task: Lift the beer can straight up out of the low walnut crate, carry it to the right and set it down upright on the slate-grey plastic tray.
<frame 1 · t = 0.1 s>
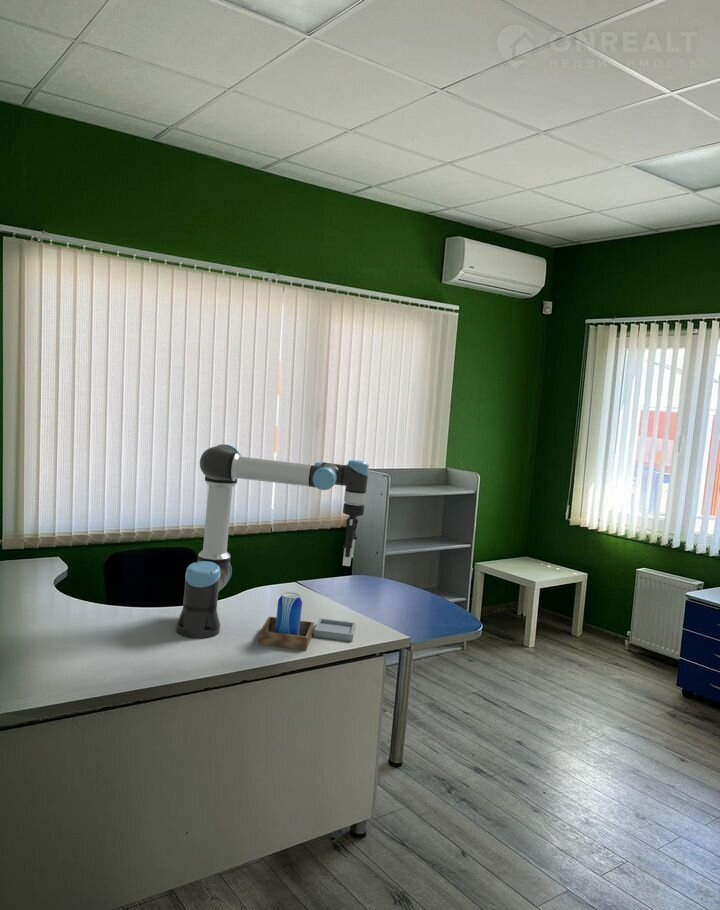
hand: (347, 561, 260), 28 cm above the table, fingers open, 13 cm apart
beer can: (286, 639, 254), resting in crate
tray: (334, 632, 266), on the table
crate: (286, 639, 254), on the table
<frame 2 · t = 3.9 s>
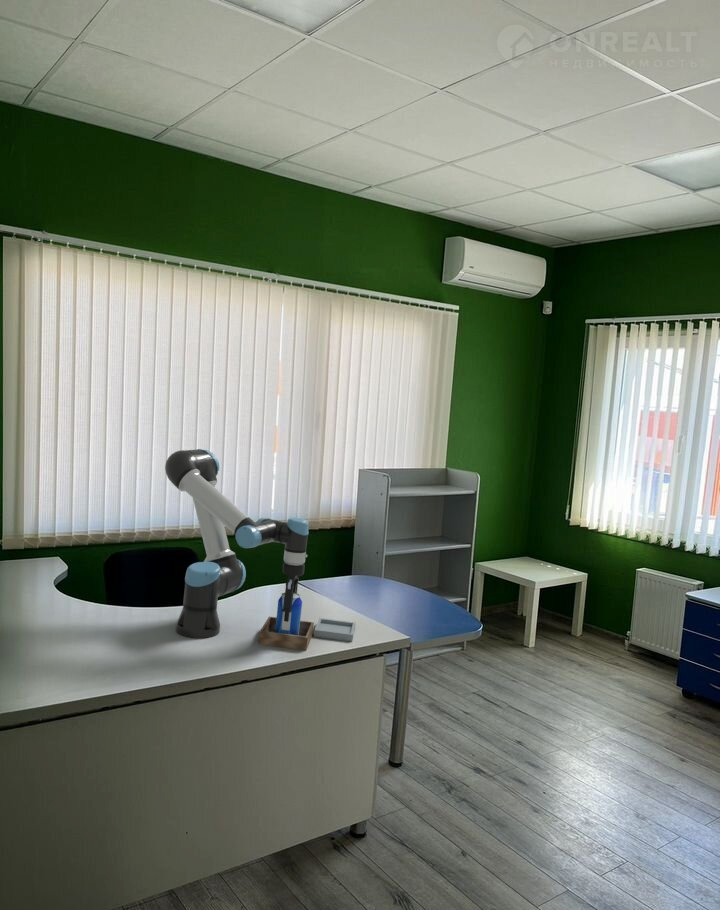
hand: (287, 625, 253), 5 cm above the table, fingers closed on beer can, 8 cm apart
beer can: (286, 639, 254), resting in crate, touching gripper
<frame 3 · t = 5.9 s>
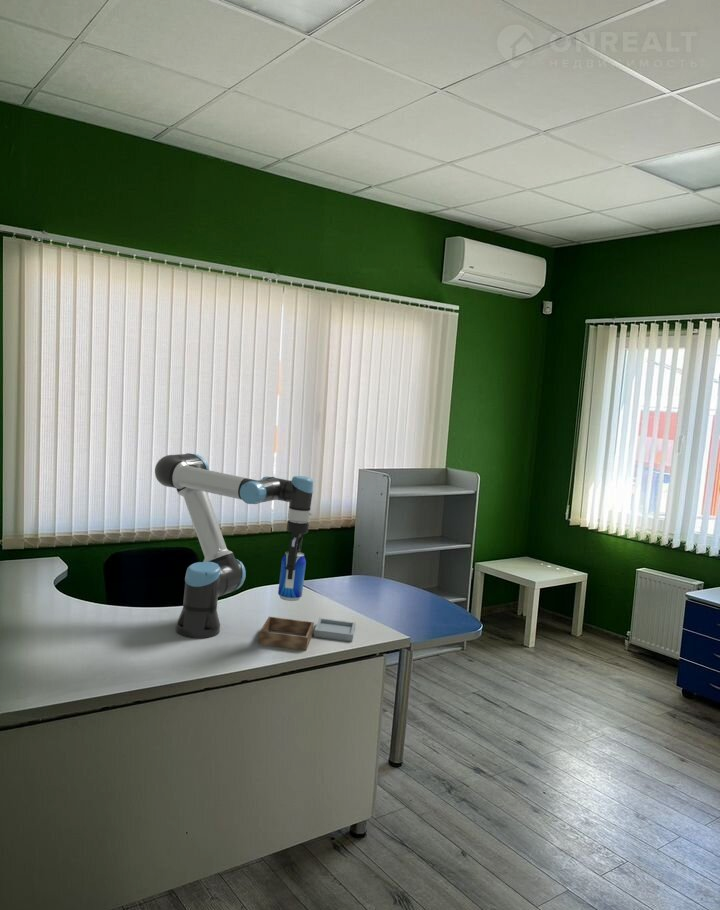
hand: (291, 584, 252), 20 cm above the table, fingers closed on beer can, 8 cm apart
beer can: (289, 598, 253), point 15 cm above the table, touching gripper
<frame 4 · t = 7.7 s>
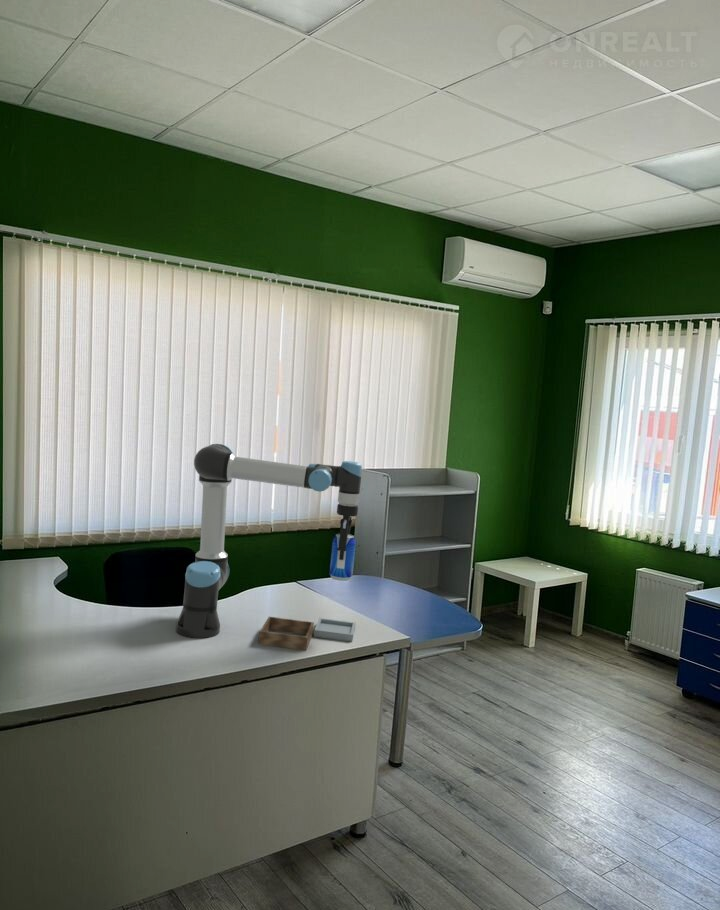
hand: (341, 565, 263), 26 cm above the table, fingers closed on beer can, 8 cm apart
beer can: (340, 578, 264), point 21 cm above the table, touching gripper
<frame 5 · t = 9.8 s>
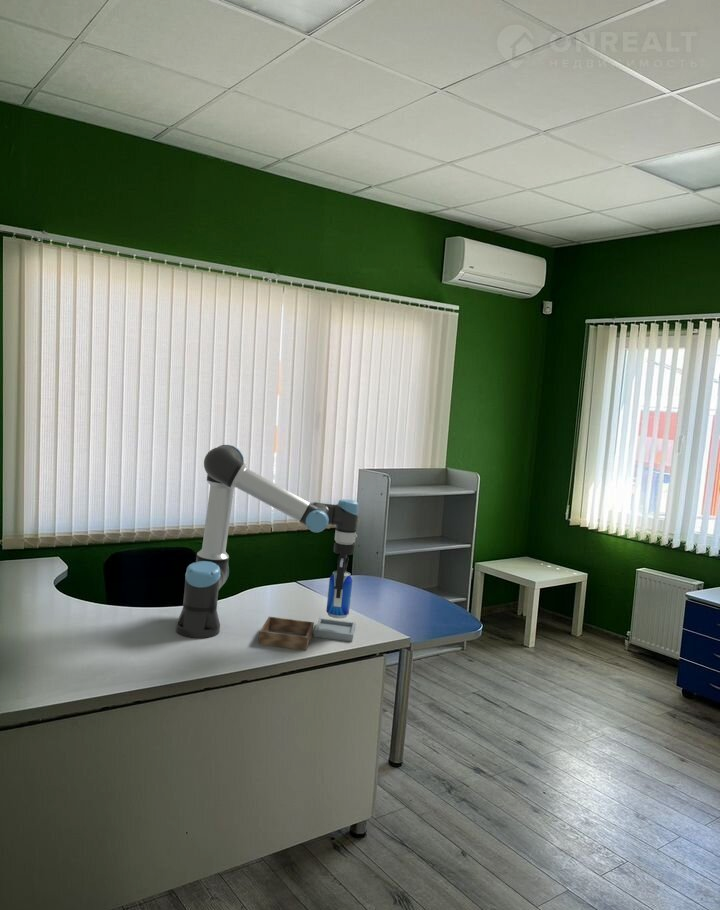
hand: (338, 602, 265), 11 cm above the table, fingers closed on beer can, 8 cm apart
beer can: (337, 616, 265), point 6 cm above the table, touching gripper
when the fingers open (8 cm above the table, at t = 11.4 s): beer can drops 2 cm, resting on tray.
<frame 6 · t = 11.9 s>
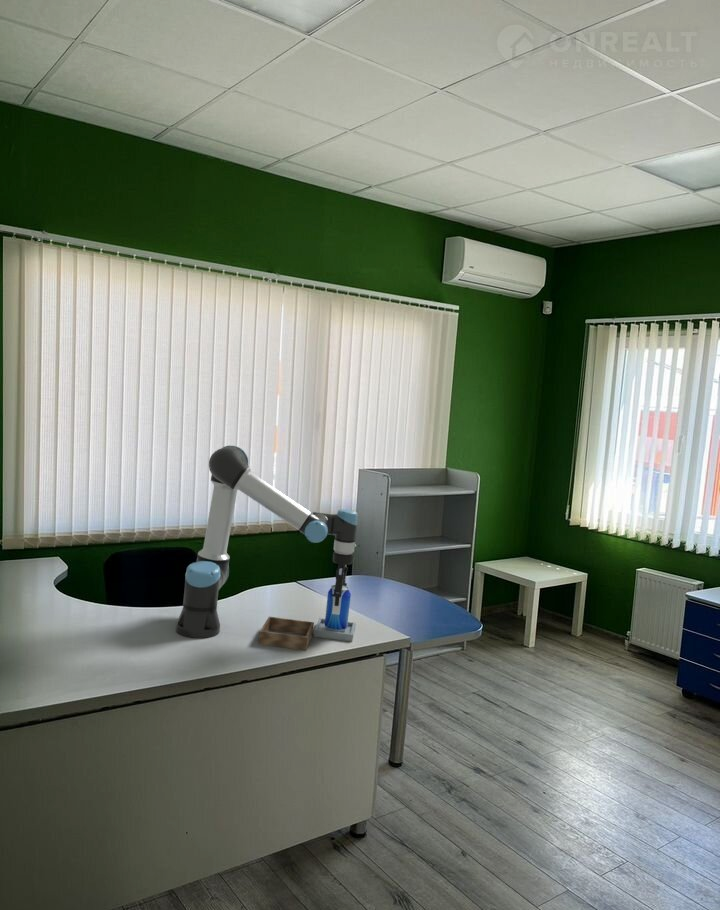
hand: (337, 608, 265), 9 cm above the table, fingers open, 13 cm apart
beer can: (335, 629, 266), point 1 cm above the table, touching tray
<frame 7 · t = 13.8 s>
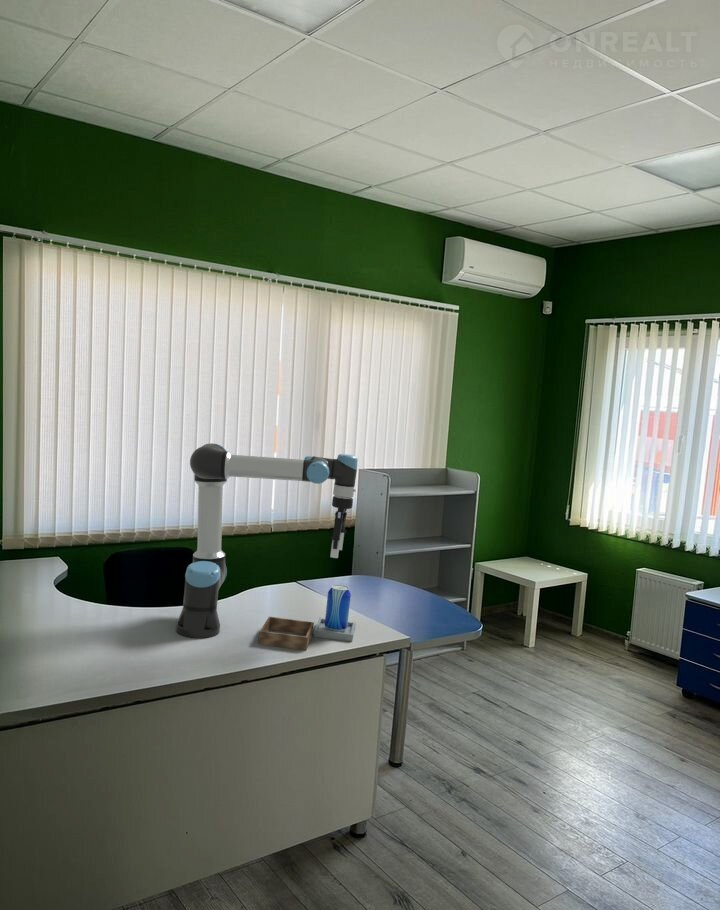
hand: (336, 553, 265), 29 cm above the table, fingers open, 13 cm apart
nothing on the table moved.
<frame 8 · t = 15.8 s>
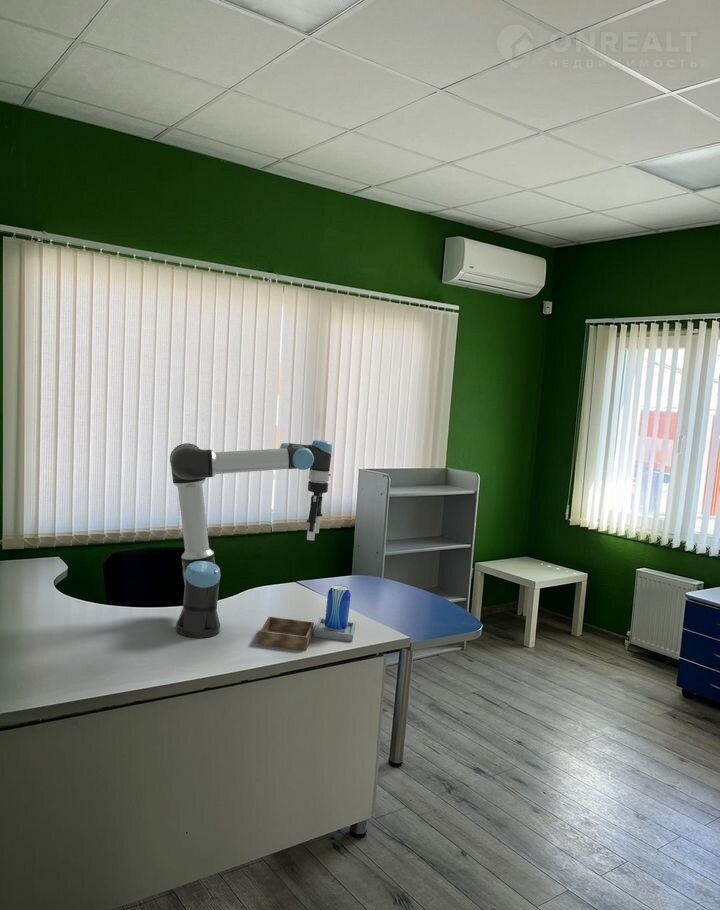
hand: (312, 536, 274), 33 cm above the table, fingers open, 13 cm apart
nothing on the table moved.
at the end: beer can inside the target area on the tray (0.2 cm from its centre), point 1.0 cm above the tray's base; beer can tilted 0°; the gripper is holding nothing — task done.
